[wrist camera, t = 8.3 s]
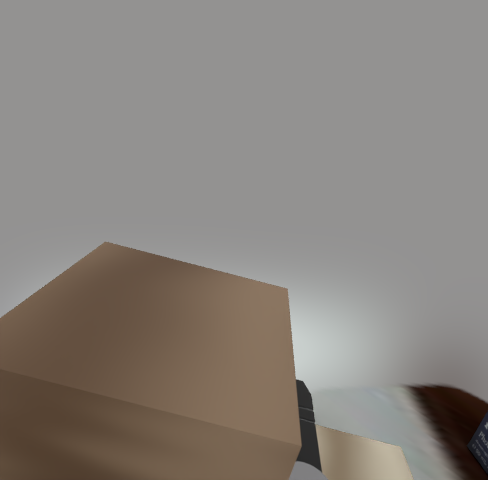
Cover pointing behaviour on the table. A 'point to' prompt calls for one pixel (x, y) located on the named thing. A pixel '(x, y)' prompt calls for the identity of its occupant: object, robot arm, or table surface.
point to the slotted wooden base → (359, 457)
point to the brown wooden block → (148, 375)
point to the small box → (481, 443)
